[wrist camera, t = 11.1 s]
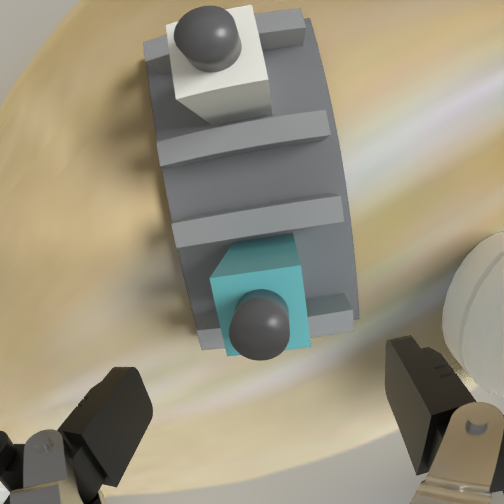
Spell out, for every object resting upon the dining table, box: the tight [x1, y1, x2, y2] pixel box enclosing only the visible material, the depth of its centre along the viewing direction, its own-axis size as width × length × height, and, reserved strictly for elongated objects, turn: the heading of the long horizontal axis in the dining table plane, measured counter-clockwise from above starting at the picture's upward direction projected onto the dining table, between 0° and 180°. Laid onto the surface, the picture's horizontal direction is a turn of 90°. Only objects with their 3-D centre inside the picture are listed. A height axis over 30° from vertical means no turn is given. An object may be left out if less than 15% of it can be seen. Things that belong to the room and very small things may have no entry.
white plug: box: [166, 5, 272, 126], centre depth 15 cm, size 4×4×10 cm
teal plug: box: [210, 233, 311, 360], centre depth 17 cm, size 4×4×10 cm
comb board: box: [143, 8, 359, 350], centre depth 20 cm, size 12×22×4 cm, turn 10°
